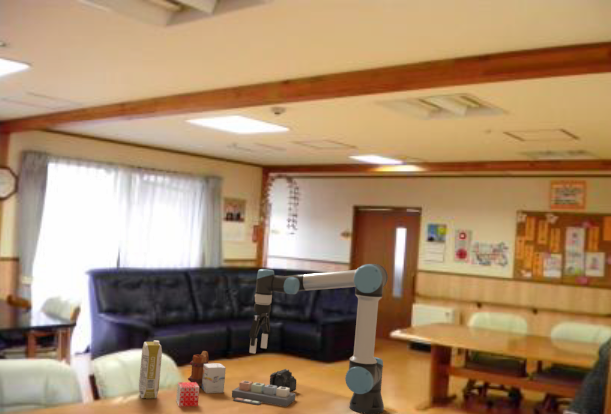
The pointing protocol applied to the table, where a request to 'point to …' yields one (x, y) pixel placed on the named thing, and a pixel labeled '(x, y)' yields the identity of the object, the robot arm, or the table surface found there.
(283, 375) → the camera
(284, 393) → the key ivory
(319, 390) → the table surface
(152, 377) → the juice carton
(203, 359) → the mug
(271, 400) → the keypad base
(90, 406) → the table surface
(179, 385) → the small box
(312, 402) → the table surface
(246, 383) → the key terracotta
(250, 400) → the tile
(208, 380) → the ink box
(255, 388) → the key sage
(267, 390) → the key slate
